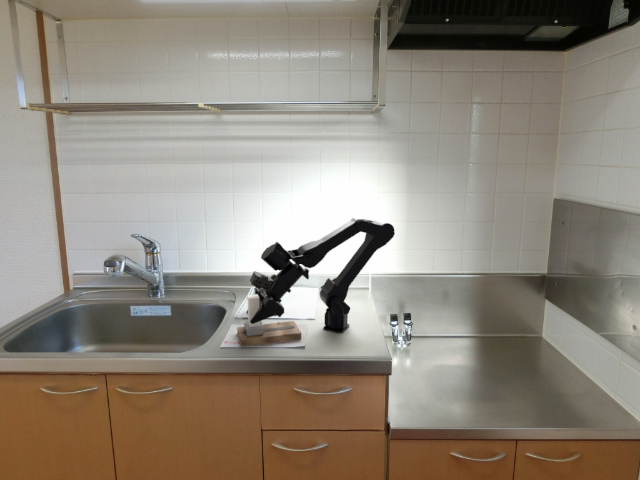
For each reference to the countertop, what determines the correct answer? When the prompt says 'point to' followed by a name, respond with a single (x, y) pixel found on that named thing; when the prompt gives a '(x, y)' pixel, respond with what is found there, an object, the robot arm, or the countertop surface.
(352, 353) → the countertop surface
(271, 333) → the brown slider track board
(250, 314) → the fader tab
